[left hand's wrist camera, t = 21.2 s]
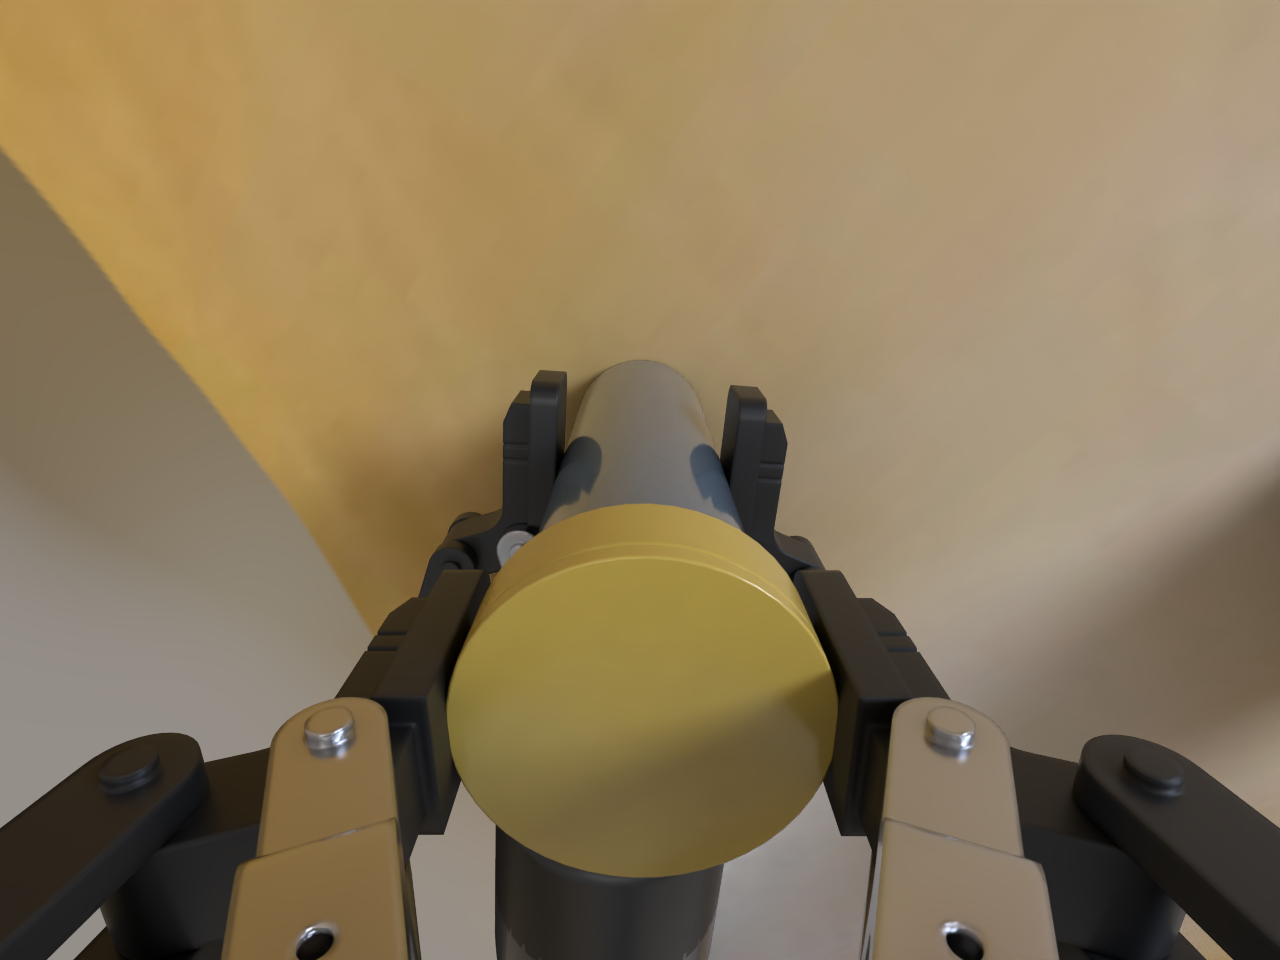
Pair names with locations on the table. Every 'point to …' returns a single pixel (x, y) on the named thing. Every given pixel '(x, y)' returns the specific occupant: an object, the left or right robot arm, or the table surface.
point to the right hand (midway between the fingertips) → (647, 387)
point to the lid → (642, 694)
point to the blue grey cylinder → (640, 448)
